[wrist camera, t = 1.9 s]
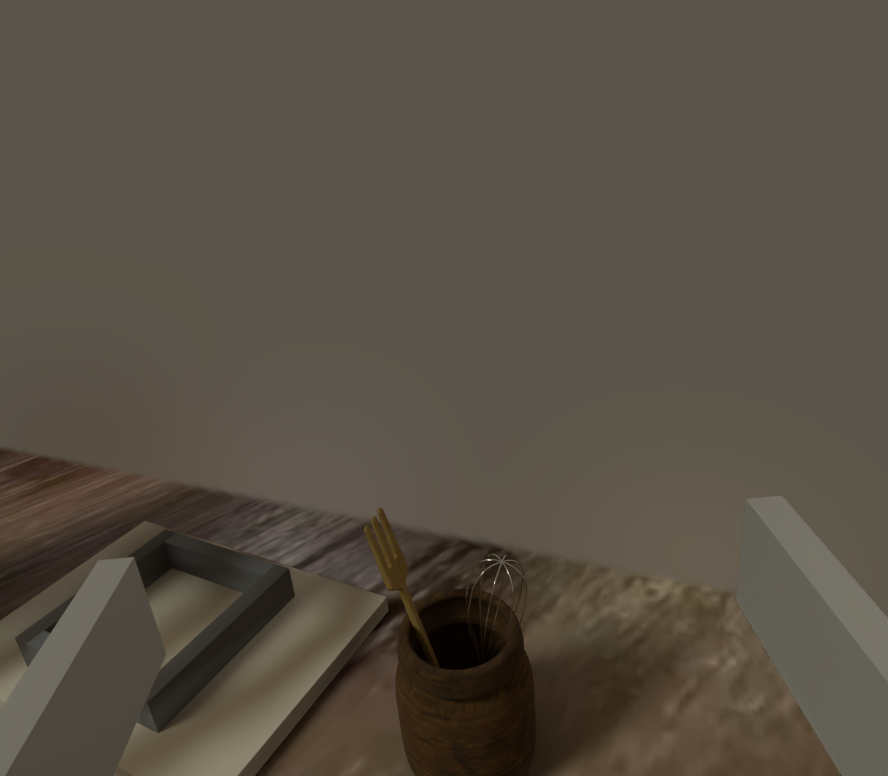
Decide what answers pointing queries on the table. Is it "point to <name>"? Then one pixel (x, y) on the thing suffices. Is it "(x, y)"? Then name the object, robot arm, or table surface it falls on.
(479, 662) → the utensil holder
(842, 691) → the robot arm
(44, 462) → the table surface
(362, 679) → the table surface
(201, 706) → the collar board
